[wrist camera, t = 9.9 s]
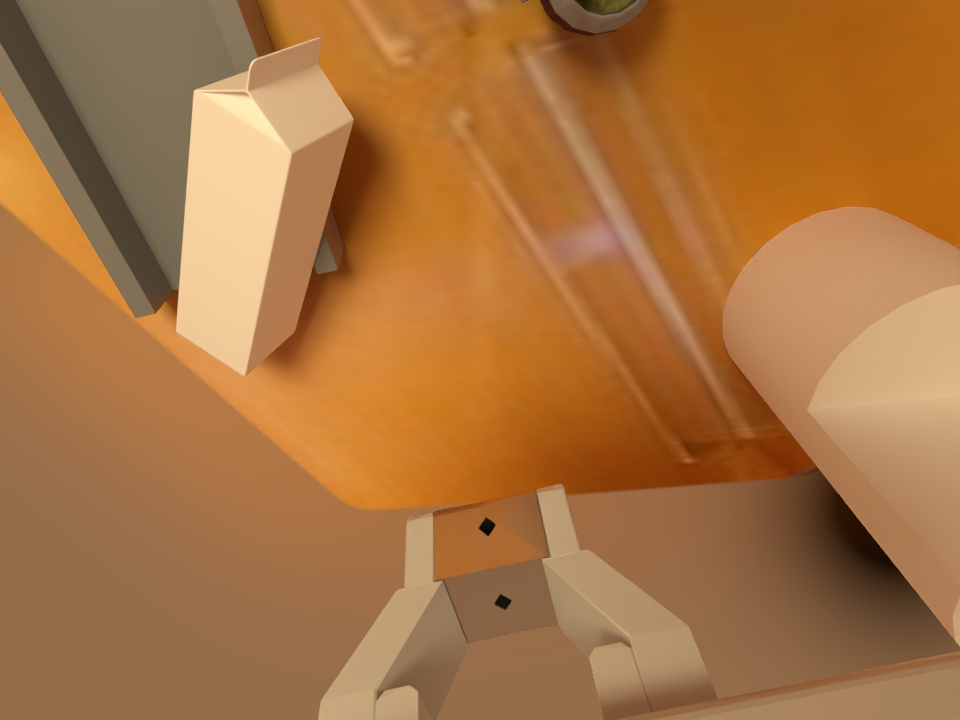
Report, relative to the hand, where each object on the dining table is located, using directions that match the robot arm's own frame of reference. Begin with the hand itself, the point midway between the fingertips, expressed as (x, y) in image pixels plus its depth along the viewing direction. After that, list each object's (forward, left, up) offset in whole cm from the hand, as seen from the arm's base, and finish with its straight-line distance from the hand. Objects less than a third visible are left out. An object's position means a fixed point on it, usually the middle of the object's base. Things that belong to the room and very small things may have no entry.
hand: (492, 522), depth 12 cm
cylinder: (+22, +28, -37) cm, 52 cm away
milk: (+10, -18, -33) cm, 39 cm away
